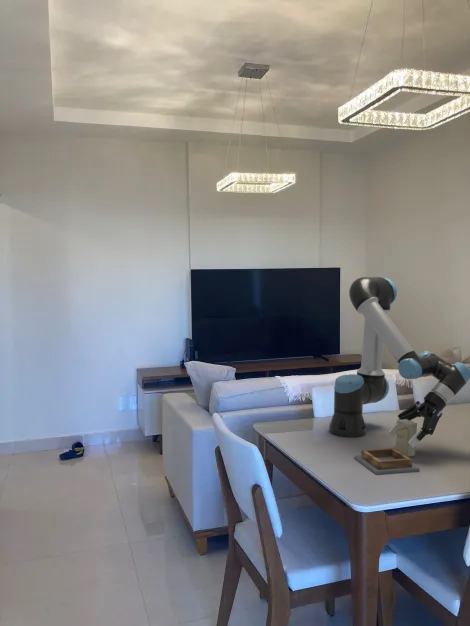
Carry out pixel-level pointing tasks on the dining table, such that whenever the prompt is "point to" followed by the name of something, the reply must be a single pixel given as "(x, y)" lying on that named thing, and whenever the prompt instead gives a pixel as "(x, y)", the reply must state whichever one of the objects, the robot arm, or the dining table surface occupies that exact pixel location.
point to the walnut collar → (398, 462)
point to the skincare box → (405, 436)
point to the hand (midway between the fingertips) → (400, 439)
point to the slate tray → (385, 471)
